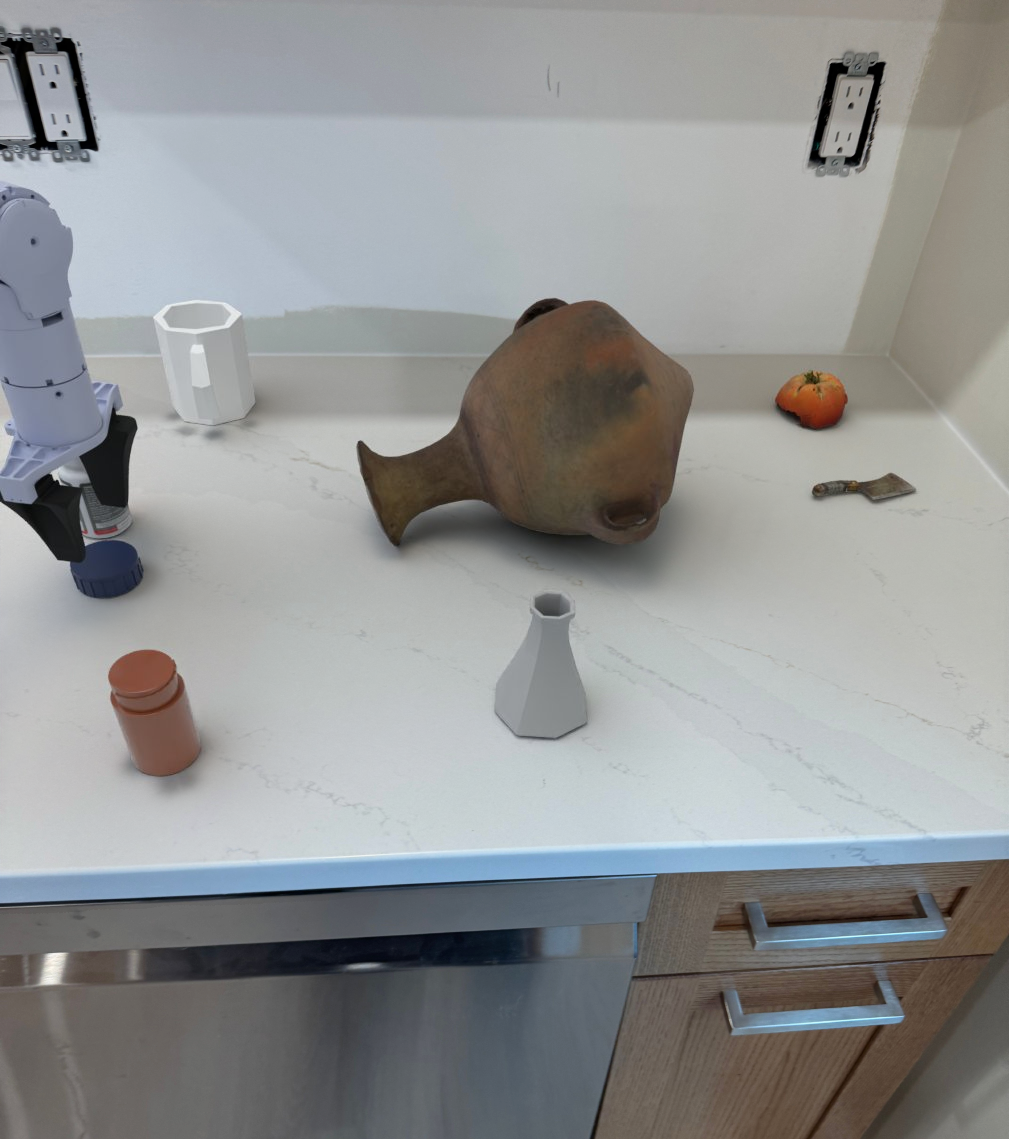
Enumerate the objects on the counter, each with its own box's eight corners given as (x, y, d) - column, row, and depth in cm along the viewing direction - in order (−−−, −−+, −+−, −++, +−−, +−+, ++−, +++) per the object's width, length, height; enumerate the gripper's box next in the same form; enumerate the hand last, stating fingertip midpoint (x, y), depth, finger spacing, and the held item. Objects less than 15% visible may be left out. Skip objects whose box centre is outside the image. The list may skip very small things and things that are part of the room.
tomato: (784, 374, 106) (835, 345, 100) (816, 420, 108) (868, 394, 102) (756, 409, 102) (807, 380, 96) (790, 456, 104) (842, 431, 98)
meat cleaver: (924, 503, 91) (902, 478, 94) (928, 493, 90) (906, 468, 94) (815, 502, 89) (797, 477, 93) (819, 492, 88) (801, 466, 92)
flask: (508, 749, 64) (517, 647, 57) (481, 679, 69) (486, 577, 62) (602, 731, 66) (622, 630, 59) (569, 665, 71) (584, 564, 64)
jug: (666, 468, 93) (382, 523, 92) (657, 265, 82) (334, 326, 81) (736, 551, 76) (389, 620, 75) (735, 310, 65) (329, 387, 64)
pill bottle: (141, 512, 82) (118, 430, 76) (120, 542, 79) (95, 459, 73) (90, 507, 82) (64, 424, 76) (67, 537, 79) (38, 453, 73)
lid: (154, 563, 77) (149, 544, 75) (125, 603, 73) (119, 583, 71) (95, 554, 77) (88, 535, 76) (63, 593, 73) (56, 574, 72)
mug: (174, 390, 99) (154, 301, 92) (254, 385, 100) (240, 298, 93) (171, 446, 90) (149, 352, 83) (258, 440, 92) (244, 348, 85)
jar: (140, 785, 60) (111, 705, 54) (125, 739, 63) (95, 658, 57) (209, 761, 62) (187, 682, 56) (190, 718, 64) (168, 638, 59)
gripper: (40, 321, 68) (87, 476, 77) (-74, 411, 57) (-3, 579, 67) (130, 331, 67) (167, 486, 77) (31, 424, 57) (88, 591, 66)
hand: (93, 530), depth 72 cm, fingers open, 7 cm apart
